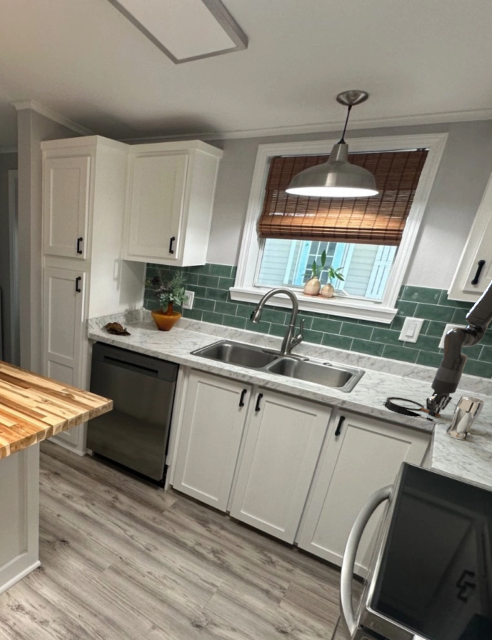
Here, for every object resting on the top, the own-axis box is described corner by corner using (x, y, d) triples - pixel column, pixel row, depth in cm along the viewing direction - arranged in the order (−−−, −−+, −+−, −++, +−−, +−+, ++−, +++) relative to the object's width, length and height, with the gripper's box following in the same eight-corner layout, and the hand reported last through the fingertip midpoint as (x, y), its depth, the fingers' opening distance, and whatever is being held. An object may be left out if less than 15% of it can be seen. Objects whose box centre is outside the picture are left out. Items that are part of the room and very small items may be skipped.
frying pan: (445, 422, 164) (449, 412, 163) (426, 426, 159) (430, 416, 157) (396, 403, 181) (399, 395, 179) (377, 406, 175) (380, 397, 174)
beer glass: (443, 429, 156) (459, 393, 150) (466, 435, 152) (484, 399, 147) (444, 436, 151) (461, 399, 145) (468, 442, 147) (486, 405, 141)
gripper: (447, 383, 151) (431, 425, 157) (468, 380, 156) (451, 421, 162) (425, 377, 157) (411, 418, 163) (446, 374, 163) (431, 414, 169)
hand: (431, 419), depth 163 cm, fingers closed on frying pan, 1 cm apart
